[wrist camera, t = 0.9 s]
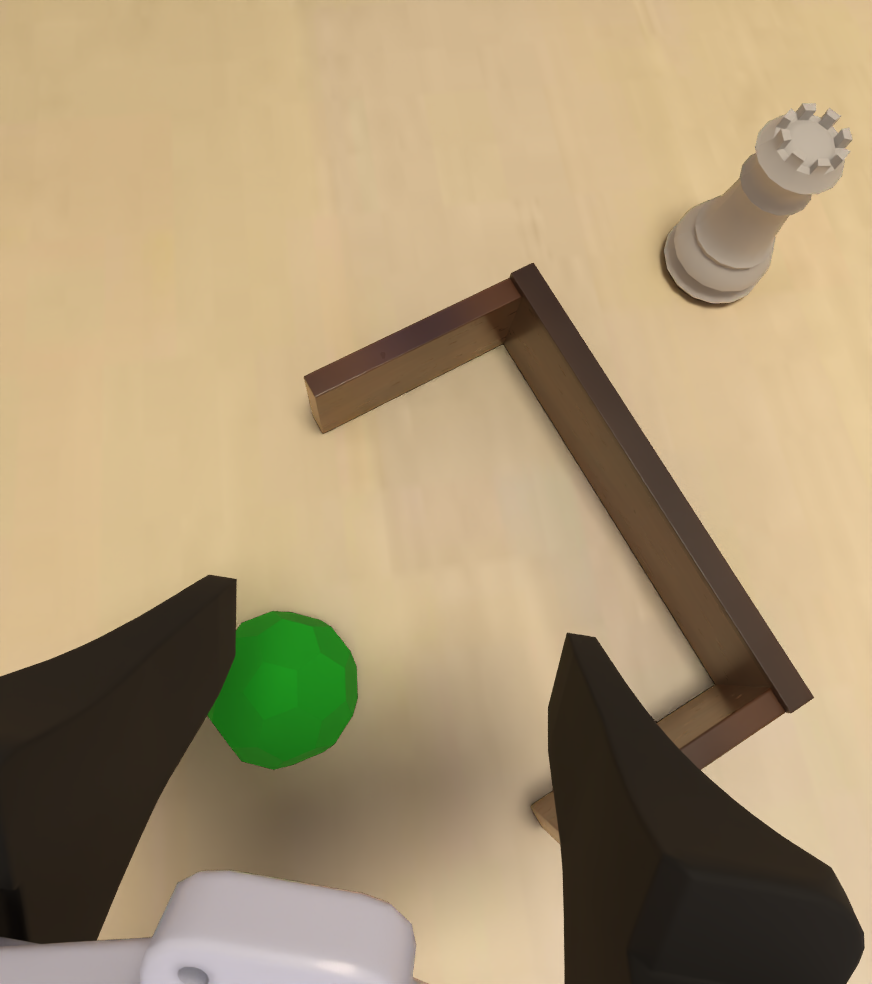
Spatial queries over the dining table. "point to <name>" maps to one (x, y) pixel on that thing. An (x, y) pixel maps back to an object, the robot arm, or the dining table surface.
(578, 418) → the brown l-shaped bars
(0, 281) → the dining table surface
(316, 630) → the polyhedron
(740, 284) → the rook chess piece
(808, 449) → the dining table surface
